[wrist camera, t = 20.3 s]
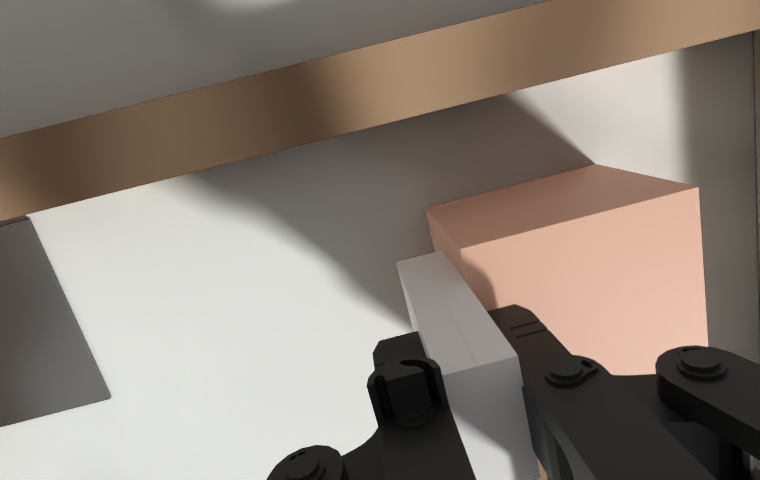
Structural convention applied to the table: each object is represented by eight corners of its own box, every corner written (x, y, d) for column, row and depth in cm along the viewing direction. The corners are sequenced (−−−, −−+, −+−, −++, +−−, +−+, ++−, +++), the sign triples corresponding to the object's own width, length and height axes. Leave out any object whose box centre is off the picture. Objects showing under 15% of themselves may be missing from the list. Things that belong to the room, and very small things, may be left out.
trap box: (67, 712, 21) (7, 847, 17) (-246, 208, 15) (-450, 244, 11) (797, 518, 22) (896, 607, 18) (798, -54, 15) (952, -107, 11)
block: (458, 360, 18) (502, 451, 13) (424, 207, 17) (460, 249, 12) (613, 319, 18) (711, 396, 13) (594, 163, 17) (698, 186, 12)
